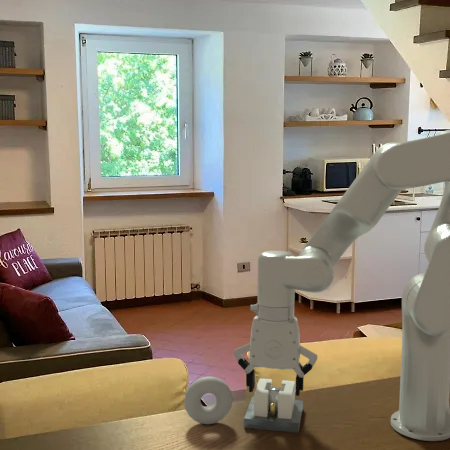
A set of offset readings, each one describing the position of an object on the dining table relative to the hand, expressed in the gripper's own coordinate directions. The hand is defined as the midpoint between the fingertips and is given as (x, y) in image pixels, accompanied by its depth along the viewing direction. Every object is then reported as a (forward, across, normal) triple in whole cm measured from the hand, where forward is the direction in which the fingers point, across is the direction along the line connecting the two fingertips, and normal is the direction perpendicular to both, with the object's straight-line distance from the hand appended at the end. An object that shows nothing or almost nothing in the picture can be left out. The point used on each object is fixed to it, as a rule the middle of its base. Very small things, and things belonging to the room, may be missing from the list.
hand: (274, 391), depth 131 cm
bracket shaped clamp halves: (+4, 0, 0) cm, 4 cm away
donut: (+6, -13, -5) cm, 15 cm away
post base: (+6, 0, 0) cm, 6 cm away
